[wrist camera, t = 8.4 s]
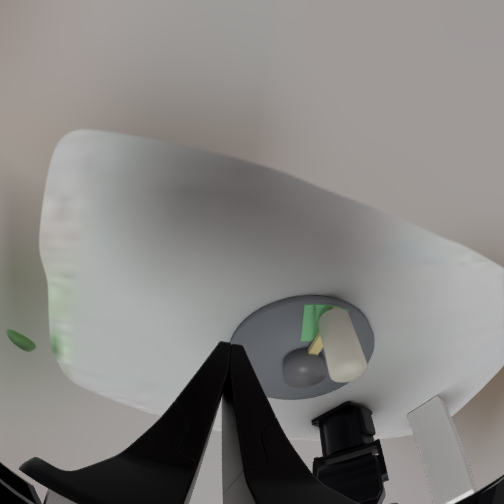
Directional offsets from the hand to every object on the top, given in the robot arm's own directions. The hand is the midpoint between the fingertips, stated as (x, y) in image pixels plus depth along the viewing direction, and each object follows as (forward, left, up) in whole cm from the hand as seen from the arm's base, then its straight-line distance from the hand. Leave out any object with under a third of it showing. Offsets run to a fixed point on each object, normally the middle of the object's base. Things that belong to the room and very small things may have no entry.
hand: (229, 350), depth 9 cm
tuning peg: (-4, -11, -10) cm, 15 cm away
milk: (-4, -42, -11) cm, 44 cm away
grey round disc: (-6, -12, -11) cm, 17 cm away
